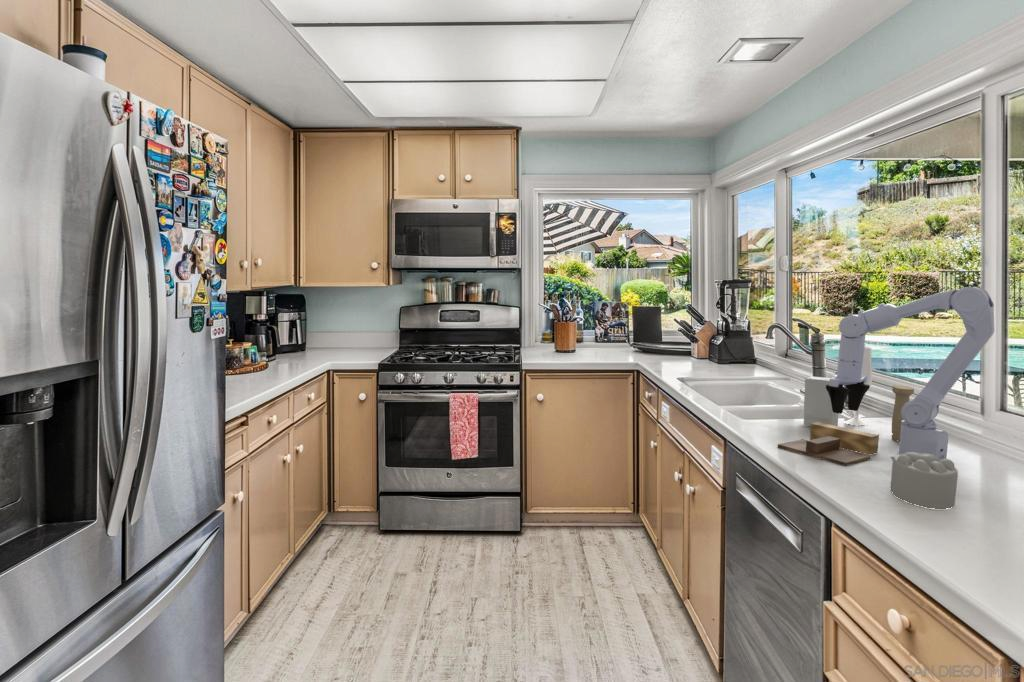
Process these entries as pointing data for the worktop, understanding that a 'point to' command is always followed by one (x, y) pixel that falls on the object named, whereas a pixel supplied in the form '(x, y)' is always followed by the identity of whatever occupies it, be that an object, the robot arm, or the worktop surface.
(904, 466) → the lumpy-topped squat cylinder
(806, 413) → the skincare box
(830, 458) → the walnut board
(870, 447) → the oak bar
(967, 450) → the worktop surface
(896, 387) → the handle
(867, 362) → the champagne flute
